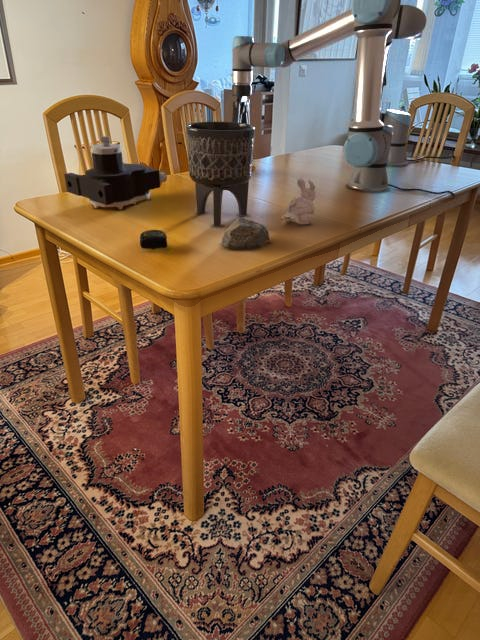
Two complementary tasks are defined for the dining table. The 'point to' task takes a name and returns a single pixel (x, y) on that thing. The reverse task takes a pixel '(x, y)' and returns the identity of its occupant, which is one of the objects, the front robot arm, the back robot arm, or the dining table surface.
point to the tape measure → (153, 239)
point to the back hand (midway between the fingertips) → (372, 99)
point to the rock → (245, 234)
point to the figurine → (301, 204)
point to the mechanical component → (113, 178)
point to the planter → (220, 162)
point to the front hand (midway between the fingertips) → (240, 147)
